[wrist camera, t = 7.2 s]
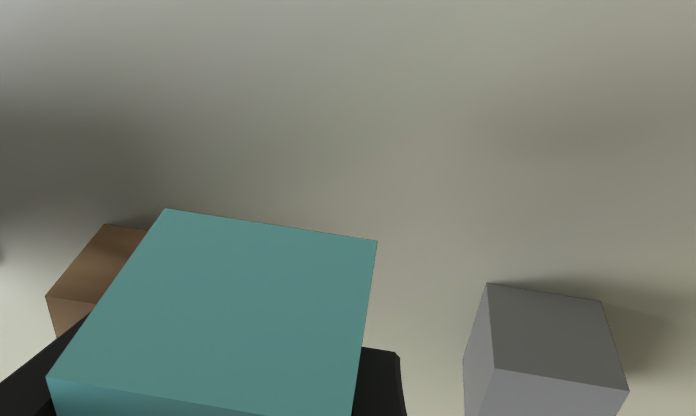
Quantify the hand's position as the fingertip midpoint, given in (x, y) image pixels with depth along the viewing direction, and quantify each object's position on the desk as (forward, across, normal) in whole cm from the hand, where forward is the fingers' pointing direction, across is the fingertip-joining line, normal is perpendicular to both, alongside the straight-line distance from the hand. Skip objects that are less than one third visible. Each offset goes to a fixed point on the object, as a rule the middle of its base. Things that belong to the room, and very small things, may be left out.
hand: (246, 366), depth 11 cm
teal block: (+2, 0, 0) cm, 2 cm away
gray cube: (+10, -8, +7) cm, 14 cm away
